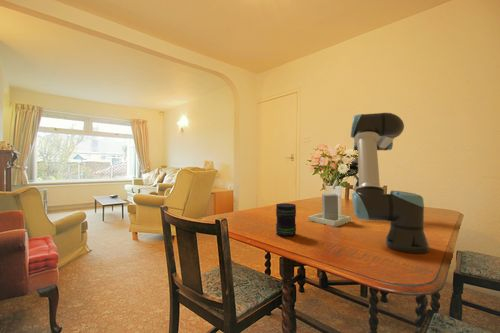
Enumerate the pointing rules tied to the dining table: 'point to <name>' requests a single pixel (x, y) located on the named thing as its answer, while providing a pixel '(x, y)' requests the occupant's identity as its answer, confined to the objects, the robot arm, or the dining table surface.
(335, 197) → the skincare box
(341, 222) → the sage tray
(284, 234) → the storage jar
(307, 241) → the dining table surface
